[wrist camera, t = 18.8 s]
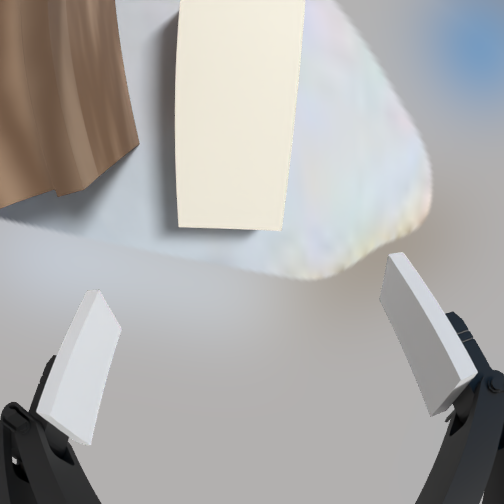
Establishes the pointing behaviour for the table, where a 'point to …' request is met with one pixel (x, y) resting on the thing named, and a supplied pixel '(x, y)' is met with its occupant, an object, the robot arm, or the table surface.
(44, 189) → the brown channel-shaped piece
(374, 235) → the table surface
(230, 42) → the thick cream rectangular block
